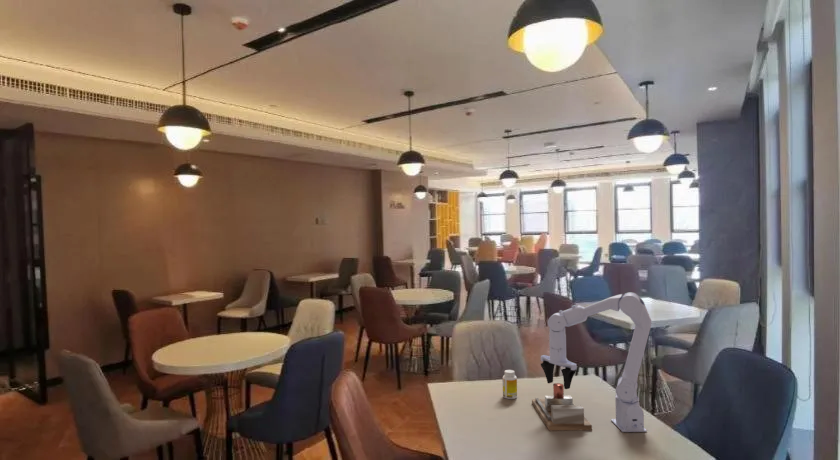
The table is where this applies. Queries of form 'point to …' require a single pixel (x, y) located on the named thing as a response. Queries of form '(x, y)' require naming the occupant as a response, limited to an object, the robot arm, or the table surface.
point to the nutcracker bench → (560, 426)
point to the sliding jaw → (558, 397)
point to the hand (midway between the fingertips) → (558, 385)
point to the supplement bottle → (509, 384)
